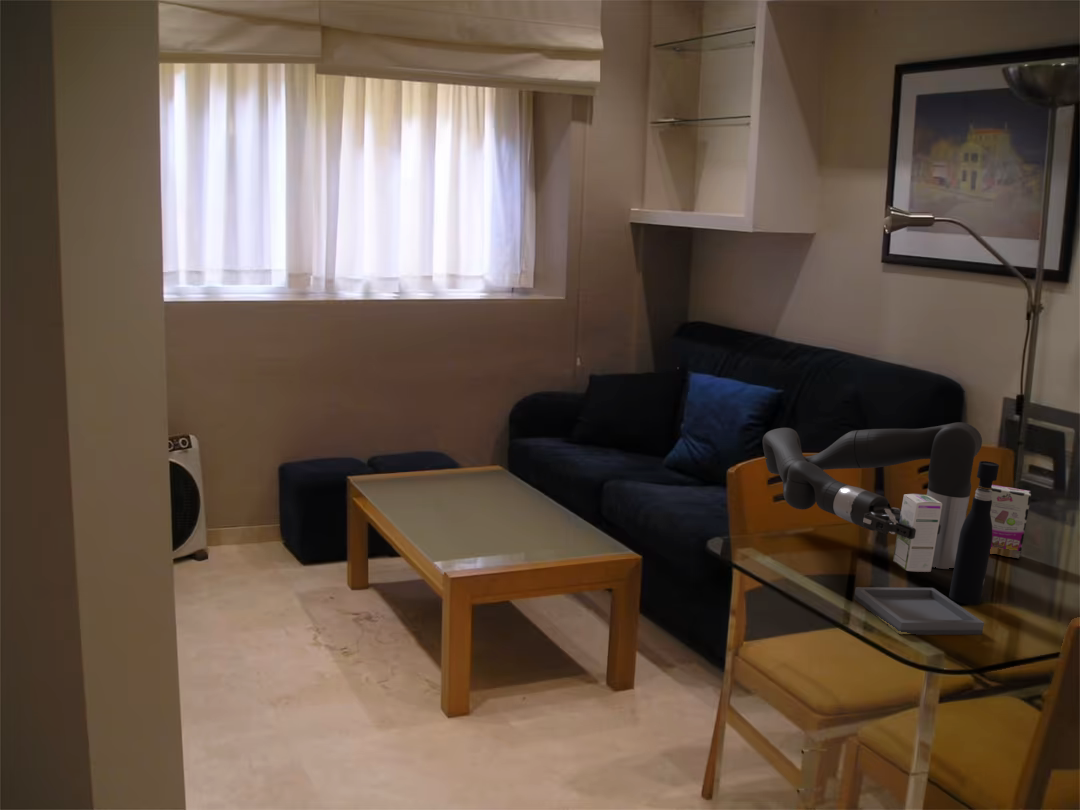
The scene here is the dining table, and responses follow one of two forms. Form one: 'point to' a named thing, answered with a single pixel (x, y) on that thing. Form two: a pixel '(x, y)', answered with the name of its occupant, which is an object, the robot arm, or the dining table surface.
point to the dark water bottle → (975, 541)
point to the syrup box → (918, 532)
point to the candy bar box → (1009, 517)
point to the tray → (919, 611)
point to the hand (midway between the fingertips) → (926, 532)
